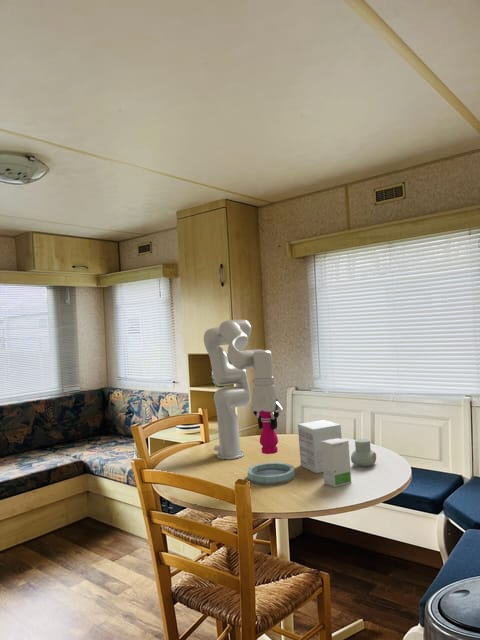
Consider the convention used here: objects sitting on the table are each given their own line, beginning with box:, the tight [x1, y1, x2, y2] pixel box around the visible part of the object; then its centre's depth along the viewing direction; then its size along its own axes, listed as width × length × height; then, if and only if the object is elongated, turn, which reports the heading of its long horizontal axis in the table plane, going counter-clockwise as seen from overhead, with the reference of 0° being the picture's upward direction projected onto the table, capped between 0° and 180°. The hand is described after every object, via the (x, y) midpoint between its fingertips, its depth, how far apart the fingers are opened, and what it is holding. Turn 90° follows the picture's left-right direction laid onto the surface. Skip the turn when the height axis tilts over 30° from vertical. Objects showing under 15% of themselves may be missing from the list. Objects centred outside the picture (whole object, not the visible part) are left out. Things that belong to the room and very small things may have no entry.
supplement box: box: [297, 419, 343, 474], centre depth 197 cm, size 13×13×18 cm
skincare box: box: [321, 438, 352, 488], centre depth 176 cm, size 8×7×16 cm
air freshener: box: [350, 438, 377, 468], centre depth 195 cm, size 11×8×10 cm
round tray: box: [247, 461, 296, 486], centre depth 188 cm, size 18×18×3 cm
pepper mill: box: [259, 410, 279, 455], centre depth 188 cm, size 7×7×20 cm
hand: (267, 427), depth 188 cm, fingers closed on pepper mill, 5 cm apart
